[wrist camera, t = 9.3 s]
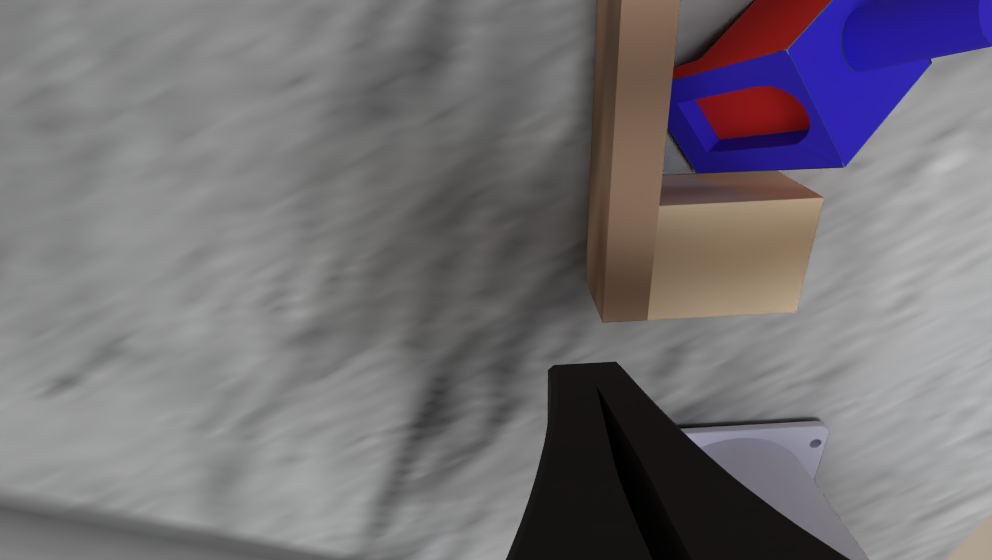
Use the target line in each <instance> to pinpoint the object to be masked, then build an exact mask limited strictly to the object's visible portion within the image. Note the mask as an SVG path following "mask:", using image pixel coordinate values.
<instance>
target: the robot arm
mask: <svg viewBox="0 0 992 560" xmlns="http://www.w3.org/2000/svg"><path fill="white" fill-rule="evenodd" d="M828 434H829V430H828V428H827V427H826V426H825V424H824V423H822V422H821V421H807V422H789V423H772V424H755V425H737V426H720V427H703V428H685V429H680V428H679V427H678V426H677V425H676V424H675V423H674V422H673V421H672V420H671V419H670V418H669V417H668V416H667V415H666V414H665V413H664V412H663V411H662V410H661V409H660V408H659V407H658V406H657V405H656V404H655V403H654V402H653V401H652V400H651V399H650V398H649V397H648V396H647V394H646V393H645V392H644V391H643V390H642V389H641V388H640V387H639V386H638V385H637V384H636V383H635V381H634V380H633V379H632V378H631V377H630V376H629V375H628V374H627V373H626V371H625V370H624V369H623V368H622V367H621V366H620V365H619V364H618V363H617V362H603V363H585V364H567V365H554V366H552V367H551V368H550V369H549V370H548V425H547V431H546V438H545V443H544V447H543V451H542V455H541V459H540V463H539V467H538V471H537V475H536V478H535V482H534V485H533V488H532V491H531V495H530V498H529V501H528V504H527V507H526V509H525V512H524V515H523V518H522V521H521V523H520V526H519V529H518V531H517V534H516V536H515V539H514V541H513V544H512V546H511V549H510V551H509V554H508V556H507V558H506V560H870V559H869V558H868V557H867V555H866V554H865V552H864V551H863V550H862V548H861V547H860V545H859V544H858V542H857V541H856V540H855V538H854V537H853V535H852V534H851V533H850V531H849V530H848V528H847V527H846V526H845V524H844V523H843V521H842V520H841V519H840V517H839V516H838V514H837V513H836V511H835V510H834V509H833V507H832V506H831V504H830V503H829V502H828V500H827V499H826V497H825V496H824V495H823V493H822V492H821V490H820V489H819V487H818V486H817V485H816V483H815V482H814V478H815V475H816V472H817V469H818V466H819V462H820V459H821V456H822V453H823V450H824V447H825V444H826V440H827V437H828Z"/></svg>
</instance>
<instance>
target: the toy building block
mask: <svg viewBox="0 0 992 560" xmlns="http://www.w3.org/2000/svg"><path fill="white" fill-rule="evenodd" d="M991 46H992V0H755V1H754V2H753V3H752V5H751V6H750V7H749V8H748V9H747V10H746V11H745V12H744V13H743V14H742V15H741V16H740V17H739V18H738V19H737V20H736V21H735V22H734V23H733V24H732V25H731V26H730V28H729V29H728V30H727V31H726V32H725V33H724V34H723V35H722V36H721V37H720V38H719V39H718V40H717V41H716V42H715V43H714V44H713V45H712V46H711V47H710V48H709V50H708V51H707V52H706V53H705V54H704V55H703V56H702V57H701V58H700V59H699V60H696V61H693V62H690V63H686V64H683V65H680V66H676V67H674V68H673V77H672V87H671V97H670V106H669V116H668V126H667V128H668V129H669V131H670V132H671V134H672V136H673V137H674V139H675V140H676V142H677V143H678V145H679V147H680V148H681V150H682V151H683V153H684V155H685V156H686V158H687V159H688V161H689V162H690V164H691V166H692V167H693V169H694V170H695V172H696V174H703V173H726V172H750V171H774V170H797V169H821V168H845V167H846V166H847V164H848V163H849V162H850V161H851V160H852V158H853V157H854V156H855V155H856V154H857V152H858V151H859V150H860V149H861V148H862V146H863V145H864V144H865V143H866V142H867V140H868V139H869V138H870V137H871V136H872V134H873V133H874V132H875V131H876V130H877V128H878V127H879V126H880V125H881V124H882V122H883V121H884V120H885V119H886V118H887V116H888V115H889V114H890V113H891V112H892V110H893V109H894V108H895V107H896V105H897V104H898V103H899V102H900V101H901V99H902V98H903V97H904V96H905V95H906V93H907V92H908V91H909V90H910V89H911V87H912V86H913V85H914V84H915V83H916V81H917V80H918V79H919V78H920V77H921V75H922V74H923V73H924V72H925V71H926V69H927V68H928V67H929V66H930V65H931V63H932V62H931V58H936V57H941V56H946V55H951V54H956V53H961V52H966V51H971V50H976V49H981V48H986V47H991Z"/></svg>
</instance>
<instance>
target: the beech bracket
mask: <svg viewBox="0 0 992 560" xmlns="http://www.w3.org/2000/svg"><path fill="white" fill-rule="evenodd" d="M679 10H680V0H597V23H596V47H595V71H594V96H593V120H592V144H591V169H590V193H589V217H588V242H587V266H586V283H587V285H588V288H589V290H590V293H591V295H592V298H593V300H594V302H595V305H596V307H597V310H598V312H599V315H600V317H601V320H602V322H603V323H604V322H622V321H641V320H659V319H677V318H696V317H714V316H733V315H751V314H769V313H788V312H796V310H797V306H798V302H799V297H800V293H801V289H802V285H803V281H804V277H805V273H806V269H807V265H808V261H809V257H810V253H811V249H812V245H813V241H814V237H815V233H816V229H817V225H818V221H819V217H820V213H821V209H822V205H823V201H824V197H822V196H820V195H819V194H817V193H815V192H813V191H811V190H810V189H808V188H806V187H804V186H803V185H801V184H799V183H797V182H796V181H794V180H792V179H790V178H788V177H787V176H785V175H783V174H781V173H780V172H778V171H776V170H774V171H750V172H726V173H703V174H683V175H663V176H662V174H663V164H664V155H665V145H666V135H667V126H668V116H669V106H670V97H671V87H672V77H673V68H674V58H675V48H676V39H677V29H678V19H679Z"/></svg>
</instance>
